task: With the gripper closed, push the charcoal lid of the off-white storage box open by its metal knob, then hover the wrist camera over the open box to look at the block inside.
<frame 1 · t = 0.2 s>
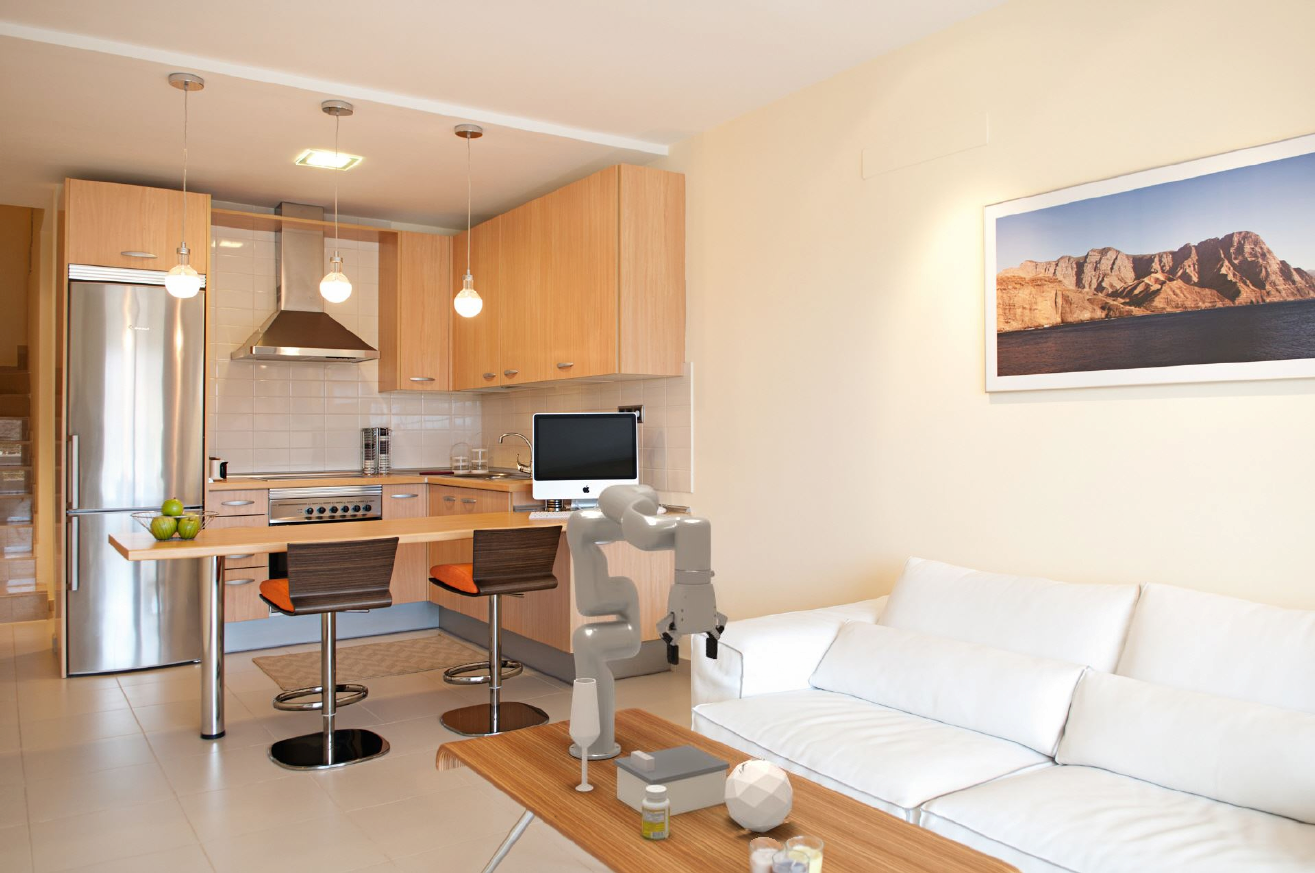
hand: (692, 660, 192), 31 cm above the table, tool pointing down, fingers open, 9 cm apart
supplement bottle: (655, 840, 176), on the table
geodesic sphere: (758, 828, 182), on the table
champagne flute: (584, 793, 201), on the table
video game controller: (658, 777, 211), on the table
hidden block: (655, 803, 192), point 1 cm above the table, touching storage box
lid: (671, 757, 194), point 10 cm above the table, slide at 0.0 cm
storage box: (671, 804, 194), on the table
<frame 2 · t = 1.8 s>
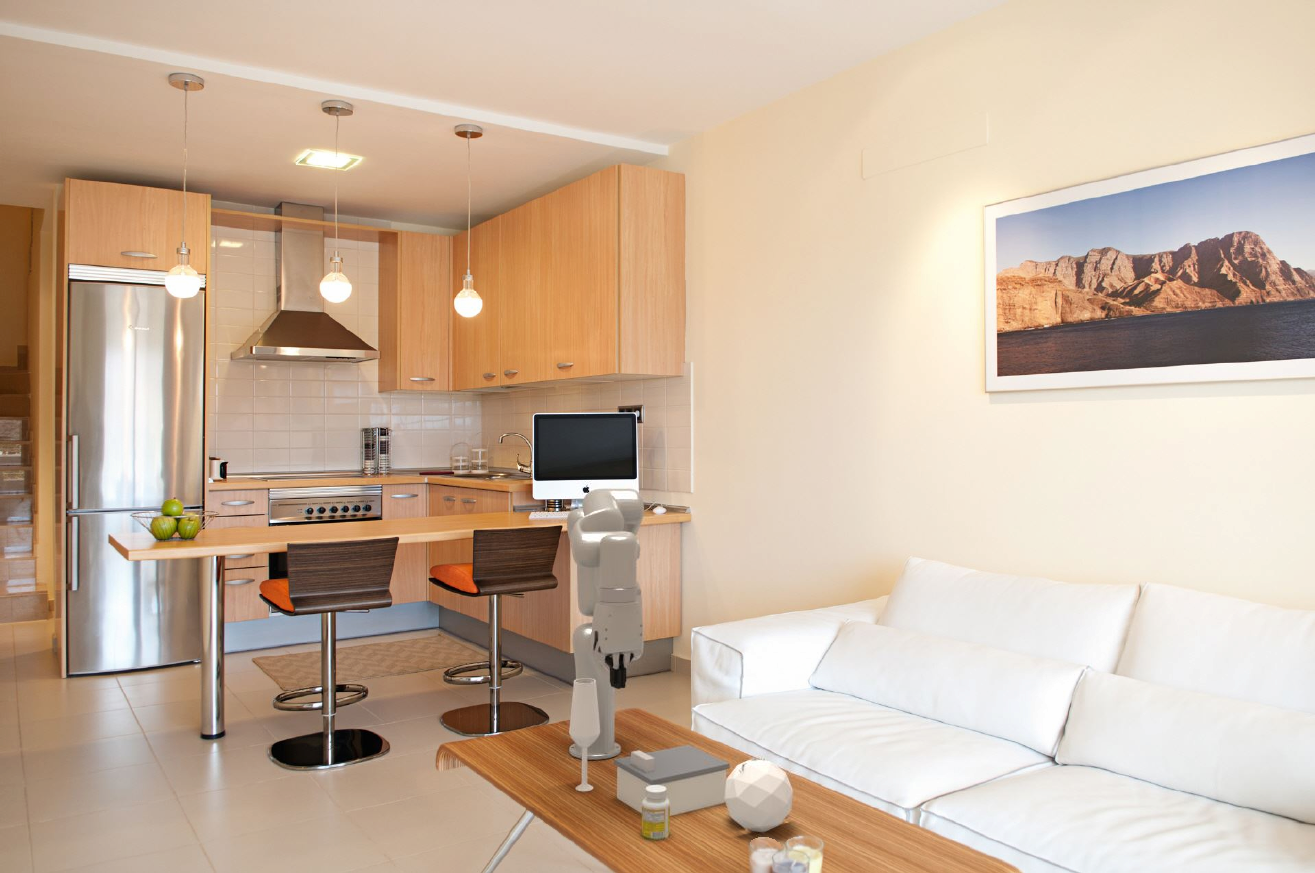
hand: (618, 686, 188), 26 cm above the table, tool pointing down, fingers closed
nothing on the table moved.
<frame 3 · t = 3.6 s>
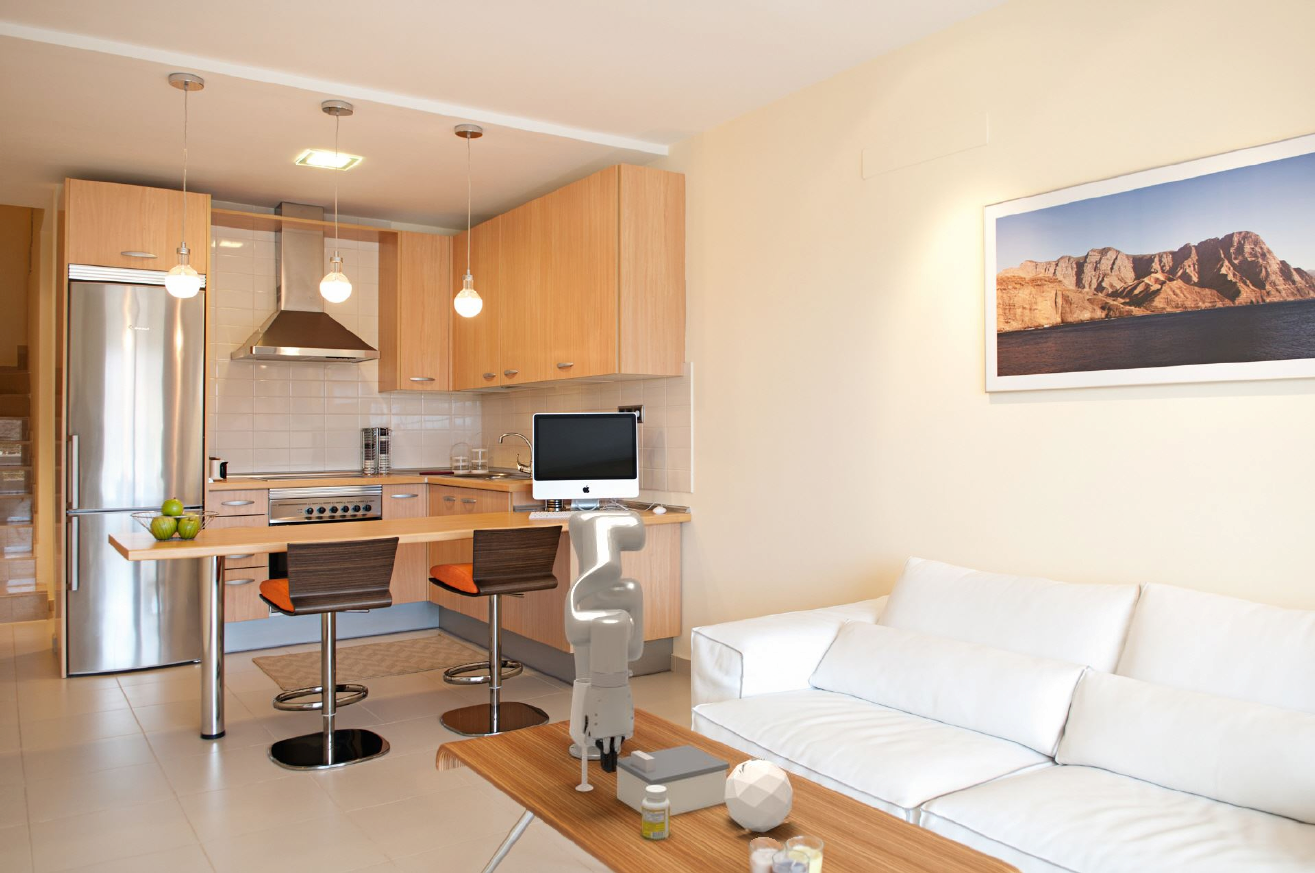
hand: (608, 770, 186), 10 cm above the table, tool pointing down, fingers closed
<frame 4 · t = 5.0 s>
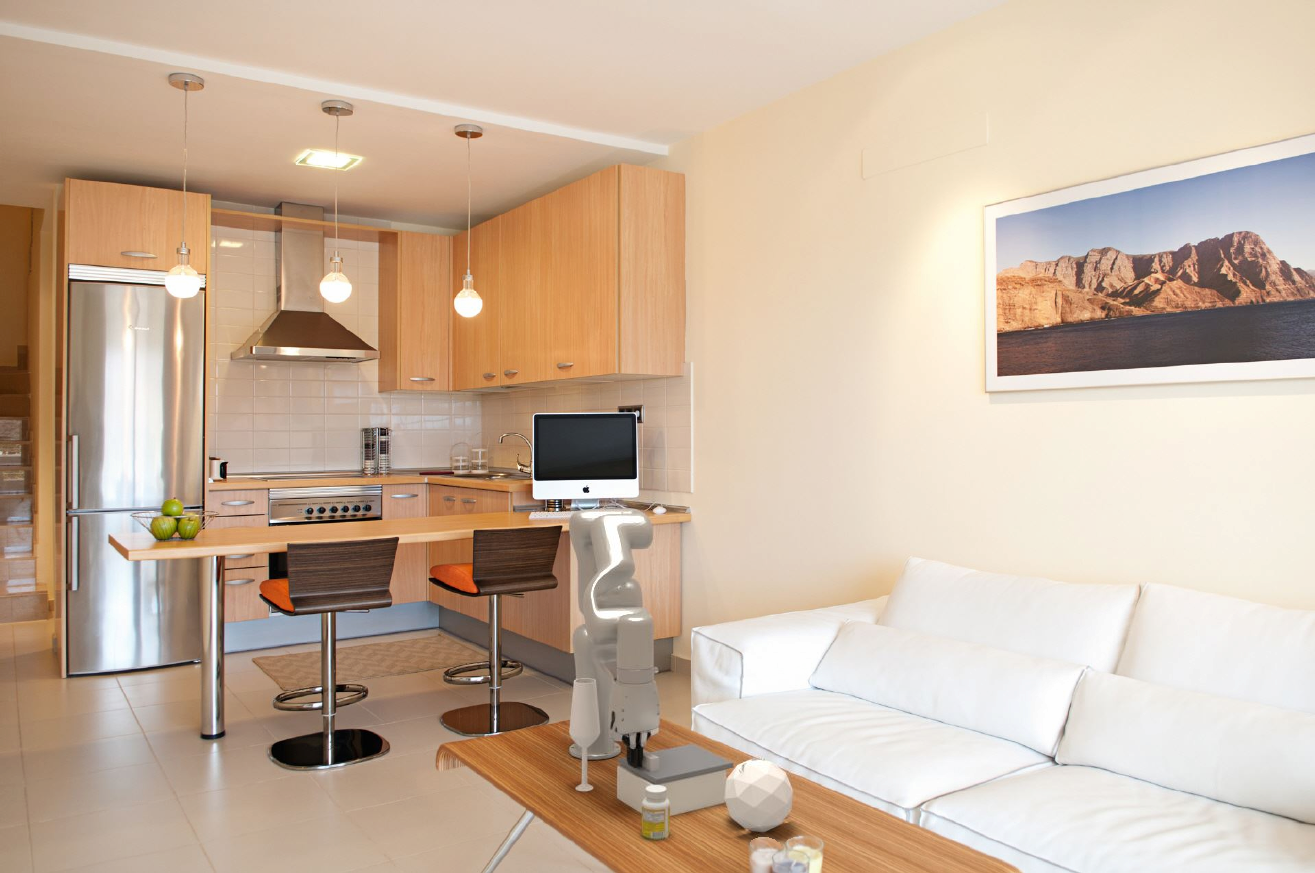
hand: (634, 765, 189), 10 cm above the table, tool pointing down, fingers closed
lid: (675, 756, 195), point 10 cm above the table, slide at 1.0 cm, touching gripper
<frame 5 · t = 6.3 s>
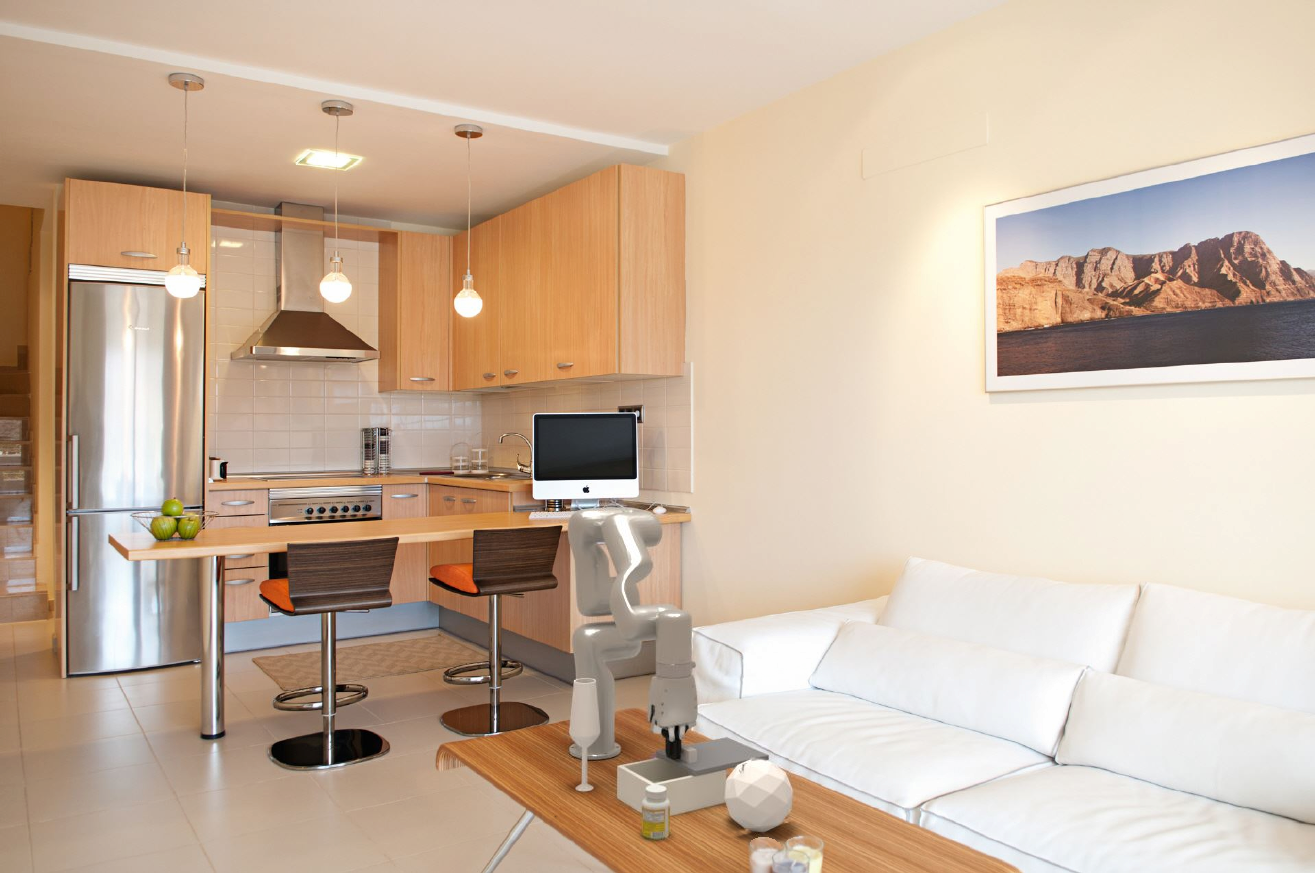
hand: (673, 757, 194), 10 cm above the table, tool pointing down, fingers closed
lid: (712, 749, 200), point 10 cm above the table, slide at 10.4 cm, touching gripper
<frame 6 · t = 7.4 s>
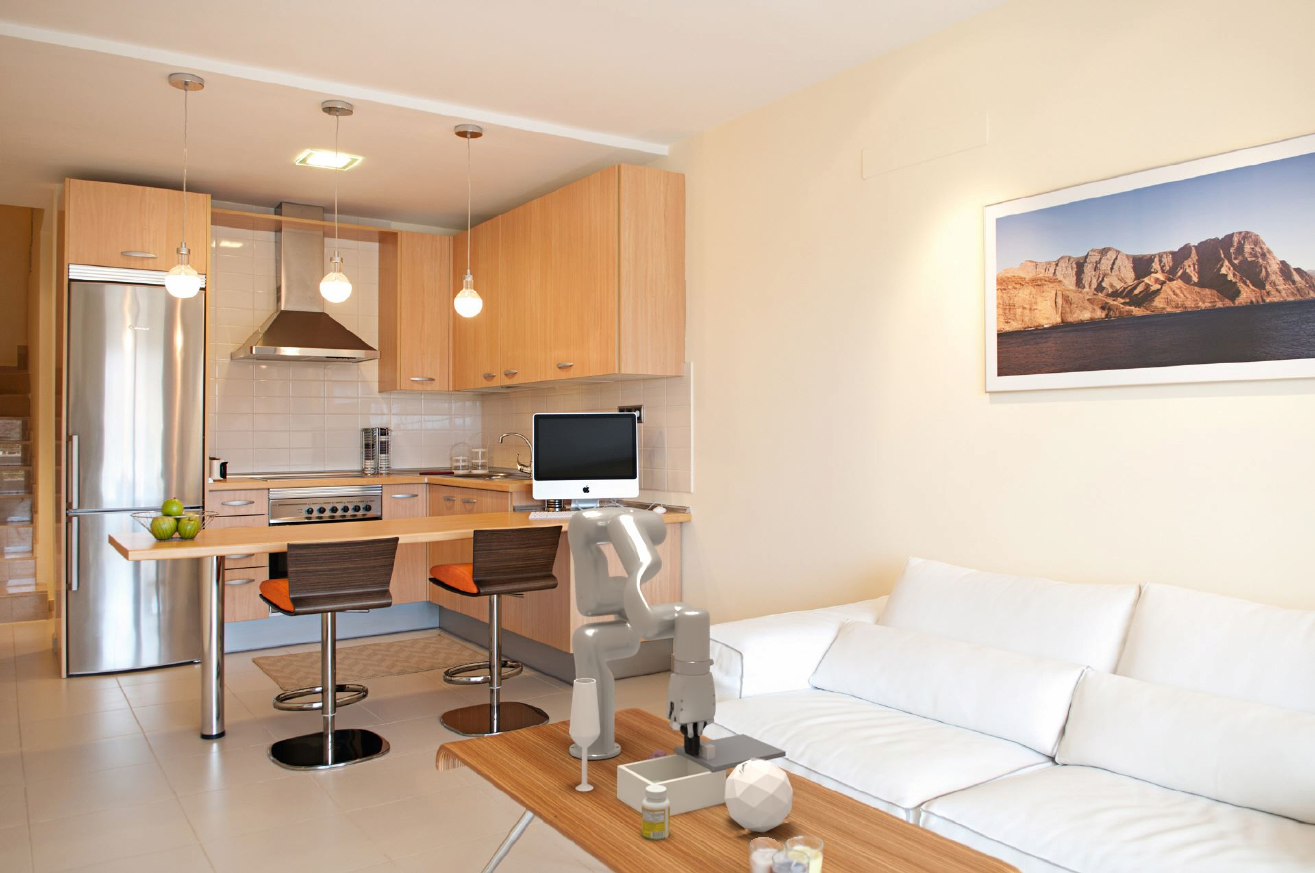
hand: (692, 753, 197), 10 cm above the table, tool pointing down, fingers closed
lid: (729, 745, 202), point 10 cm above the table, slide at 15.1 cm, touching gripper
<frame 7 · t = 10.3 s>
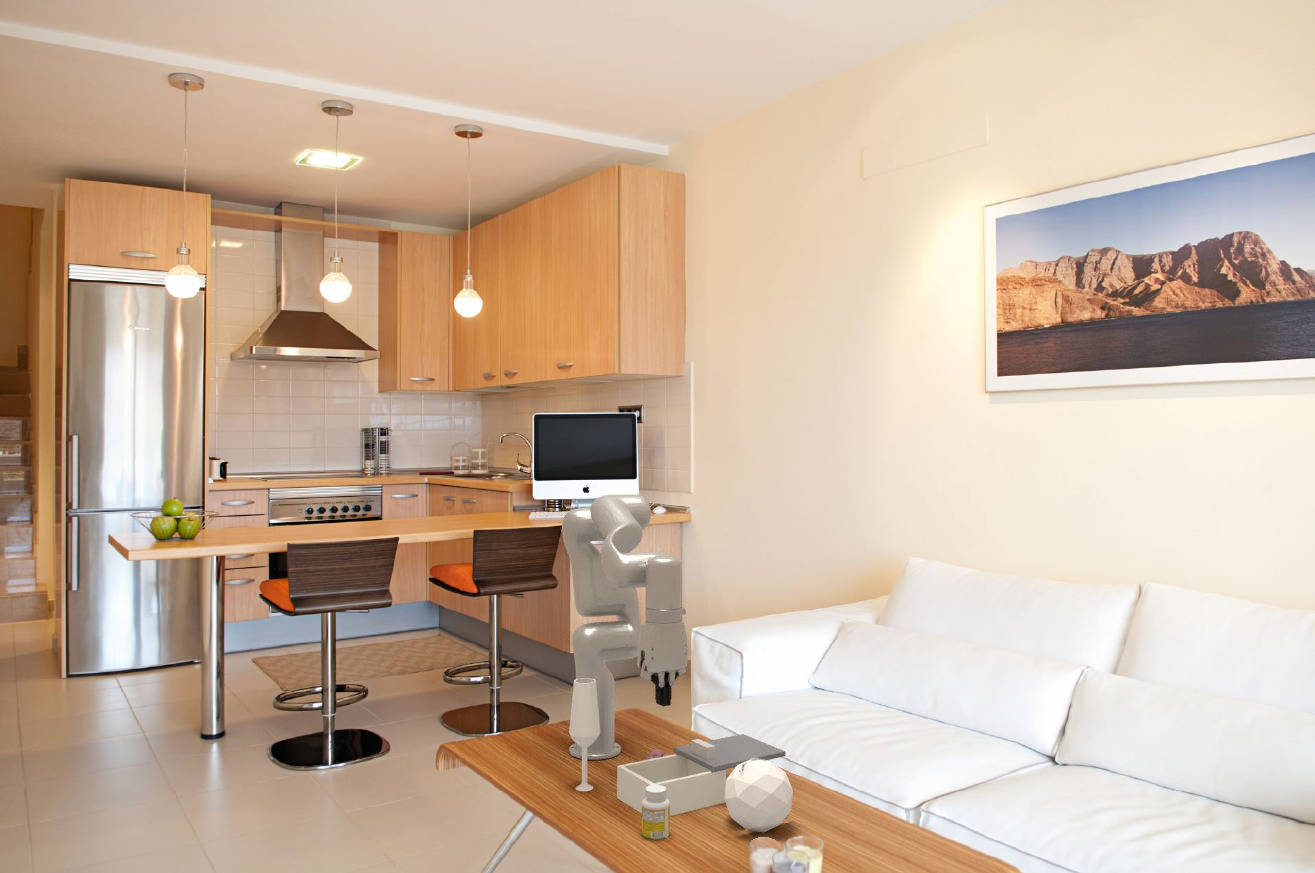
hand: (663, 704, 193), 21 cm above the table, tool pointing down, fingers closed
lid: (729, 745, 202), point 10 cm above the table, slide at 15.0 cm
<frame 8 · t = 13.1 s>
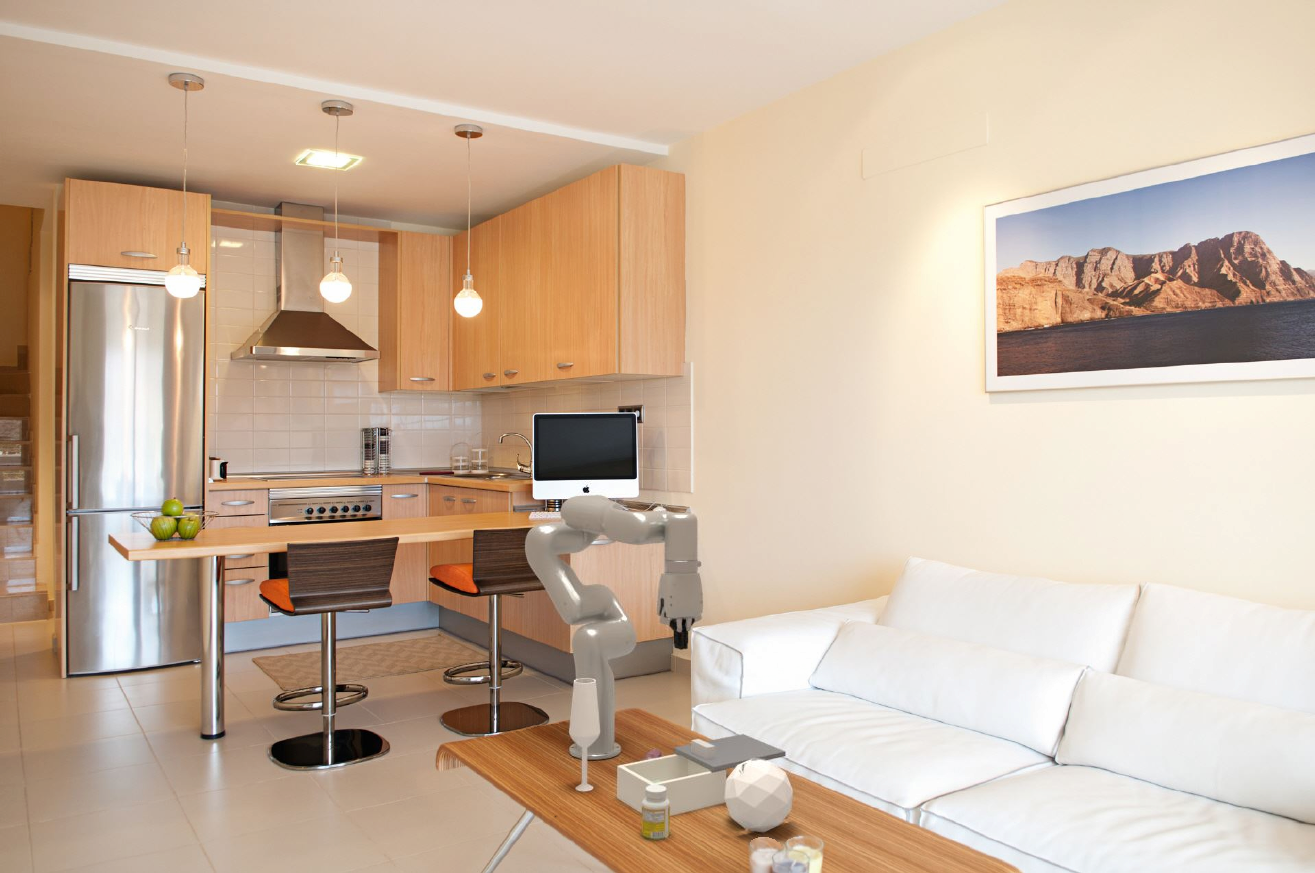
hand: (680, 648, 211), 29 cm above the table, tool pointing down, fingers closed
at the end: lid slide at 15.0 cm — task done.
